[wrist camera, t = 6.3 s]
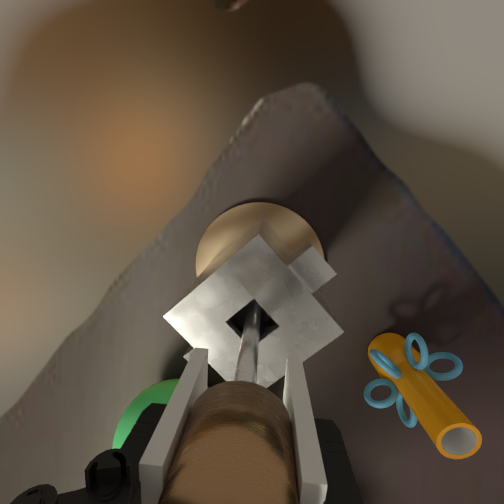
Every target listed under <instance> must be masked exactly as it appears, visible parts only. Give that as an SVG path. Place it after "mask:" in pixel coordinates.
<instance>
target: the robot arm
mask: <svg viewBox="0 0 504 504" xmlns="http://www.w3.org/2000/svg"><path fill="white" fill-rule="evenodd" d="M207 378H208V349H206V348H195V349H194V351H193V353H192V355H191V357H190V359H189V361H188V363H187V365H186V367H185V369H184V371H183V373H182V375H181V377H180V380H179V382H178V384H177V386H176V388H175V390H174V392H173V394H172V396H171V398H170V400H169V402H168V404H160V403H151V404H150V405H149V406H148V407H147V408H145V409H144V410H143V411H142V412H141V414H140V416H139V418H138V419H137V421H136V424H134V426H133V428H132V430H131V432H130V433H129V435H128V436H127V438H126V440H125V441H124V443H123V445H122V447H121V448H120V449H118V448H114V449H110V450H106V451H104V452H102V453H101V454H99V455H97V456H96V457H95V458H94V459H93V460H92V461H91V462H90V463H89V464H88V466H87V467H86V469H85V481H86V487H85V488H82V489H79V490H76V491H71V492H67V493H62V494H58V495H57V491H56V489H55V487H53V486H51V485H49V484H44V485H38V486H35V487H32V488H30V489H28V490H26V491H25V492H23V493H22V494H20V495H19V496H17V497H16V498H15V499H14V500H13V501H12V502H11V503H10V504H158V501H159V498H160V495H161V493H162V490H163V487H164V484H165V482H166V479H167V476H168V473H169V470H170V468H171V465H172V462H173V459H174V457H175V454H176V451H177V448H178V445H179V443H180V440H181V437H182V434H183V432H184V429H185V426H186V423H187V420H188V418H189V415H190V412H191V409H192V407H193V405H194V403H195V401H196V400H197V398H198V397H199V396H200V395H201V394H202V393H203V392H204V391H205V390H207ZM283 404H284V405H285V407H286V409H287V411H288V413H289V416H290V421H291V430H292V440H293V450H294V460H295V470H296V480H297V490H298V500H299V504H364V503H363V501H362V499H361V496H360V493H359V490H358V487H357V484H356V480H355V477H354V474H353V471H352V467H351V464H350V461H349V458H348V456H347V451H346V448H345V446H344V441H343V438H342V435H341V432H340V430H339V429H338V427H337V426H336V425H335V423H334V422H333V421H332V420H324V419H315V418H314V417H313V412H312V407H311V402H310V398H309V393H308V388H307V383H306V378H305V373H304V368H303V364H302V359H301V357H293V356H287V364H286V374H285V384H284V393H283Z"/></svg>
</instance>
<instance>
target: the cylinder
mask: <svg viewBox="0 0 504 504" xmlns="http://www.w3.org/2000/svg"><path fill="white" fill-rule="evenodd" d="M414 339H415V340H416V341H417V343H418V345H419V348H420V354H421V355H420V354H419V353H418V352H417V351H416V350H415V349H414V347H413V346H412V341H413V340H414ZM368 357H369V359H370V361H371V363H372V364H373V366H374V368H375V369H376V371H377V372H378V374H379V376H380V377H381V378H379V379H375V380H373V381H371V382H370V383H368V384H367V386H366V387H365V389H364V398H365V400H366V402H367V403H368V404H369V405H371V406H373V407H375V408H386V407H389V406H391V405H392V404H394V403H395V402H396V406H397V411H398V414H399V416H400V419H401V420H402V422H403V423H404V424H405V425H406V426H407V427H414V426H415V425H416V423H417V419H418V420H419V422H420V423H421V425H422V426H423V428H424V429H425V431H426V432H427V434H428V435H429V437H430V438H431V440H432V441H433V443H434V444H435V446H436V447H437V449H438V450H439V452H440V453H441V454H443V455H444V456H446V457H448V458H451V459H463V458H467V457H469V456H471V455H473V454H474V453H475V452H476V451H477V450H478V449H479V448H480V446H481V443H482V437H481V434H480V432H479V430H478V429H477V428H476V427H475V426H474V425H473V424H472V423H471V422H470V420H469V419H468V418H467V417H466V416H465V415H464V414H463V413H462V412H461V411H460V409H459V408H458V407H457V406H456V405H455V404H454V403H453V402H452V401H451V399H450V398H449V397H448V396H447V395H446V394H445V393H444V392H443V391H442V389H441V388H440V387H439V386H438V385H437V384H436V383H435V382H434V380H433V379H435V380H441V381H445V380H451V379H454V378H456V377H457V376H459V375H460V374H461V372H462V370H463V364H462V362H461V360H460V359H459V358H458V357H457V356H455V355H453V354H451V353H447V352H436V353H433V354H430V355H428V348H427V345H426V343H425V341H424V339H423V338H422V337H421V336H420V335H419V334H417V333H410V334H408V336H407V337H406V339H405V338H404V337H402V336H401V335H398V334H396V333H383V334H380V335H378V336H377V337H375V338H374V339H373V340H372V341H371V343H370V345H369V347H368ZM442 358H444V359H449V360H451V361H453V362H454V364H455V366H454V368H453V369H452V370H451V371H449V372H447V373H435V372H433V371H431V370H430V368H429V365H430V363H431V362H433V361H434V360H437V359H442ZM379 385H387V386H389V387H390V388H391V395H390V396H389V397H388V398H387V399H385V400H382V401H375V400H373V399H372V398H371V397H370V393H371V391H372V389H373V388H374V387H376V386H379ZM403 398H404V400H405V401H406V403H407V404H408V406H409V407H410V419H409V420H408V419H407V417H406V415H405V412H404V409H403Z"/></svg>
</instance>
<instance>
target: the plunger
mask: <svg viewBox="0 0 504 504" xmlns="http://www.w3.org/2000/svg"><path fill="white" fill-rule="evenodd" d="M230 319H231V320H232V321H233V322H235V323H236V324H238V325H239V326H242V327H244V329H243V335H242V340H241V345H240V351H239V356H238V362H237V367H236V372H235V378H234V381H227V382H222V383H219V384H216V385H214V386H212V387H210V388H208V389H207V390H205V391H204V392H203V393H202V394H201V395H200V396H199V397H198V398H197V400H196V401H195V403H194V405H193V407H192V409H191V412H190V415H189V418H188V420H187V423H186V426H185V429H184V432H183V434H182V437H181V440H180V443H179V445H178V448H177V451H176V454H175V457H174V459H173V462H172V465H171V468H170V470H169V473H168V476H167V479H166V482H165V484H164V487H163V490H162V493H161V495H160V498H159V501H158V504H299V500H298V490H297V480H296V470H295V460H294V450H293V440H292V430H291V421H290V416H289V413H288V411H287V409H286V407H285V405H284V404H283V402H282V401H281V400H280V399H279V398H278V397H277V396H276V395H275V394H274V393H273V392H271V391H270V390H269V389H267V388H265V387H263V386H261V385H258V384H256V381H257V365H258V349H259V332H260V329H266V328H269V327H272V326H274V325H275V324H277V323H276V322H275V321H274V320H273V319H272V318H271V317H270V315H269V314H268V313H267V312H266V311H265V310H264V309H263V308H262V307H261V306H260V304H259V303H258V302H257V301H256V300H255V299H253V300H252V301H250V302H249V303H248V304H247V305H245V306H244V307H243V308H242V309H240V310H239V311H238V312H237V313H235V314H234V315H233V316H232V317H231V318H230Z"/></svg>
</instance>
